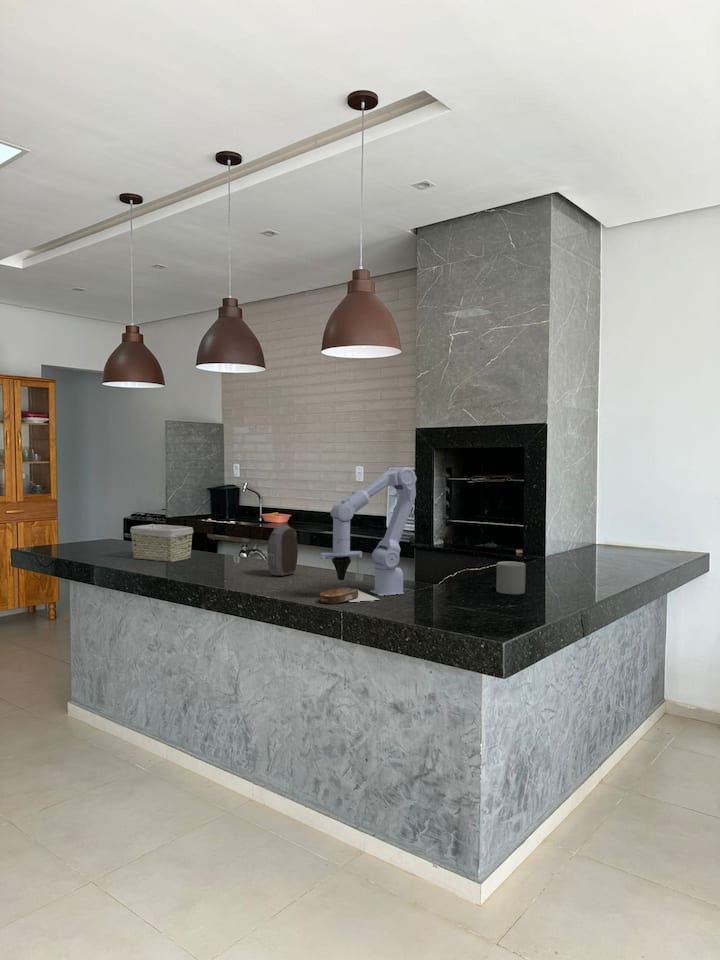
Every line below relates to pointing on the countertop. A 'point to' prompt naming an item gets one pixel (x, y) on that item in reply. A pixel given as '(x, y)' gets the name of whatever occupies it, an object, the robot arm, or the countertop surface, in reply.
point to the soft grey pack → (282, 551)
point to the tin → (339, 595)
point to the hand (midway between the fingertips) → (341, 579)
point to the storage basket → (161, 542)
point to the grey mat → (363, 597)
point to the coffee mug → (510, 577)
